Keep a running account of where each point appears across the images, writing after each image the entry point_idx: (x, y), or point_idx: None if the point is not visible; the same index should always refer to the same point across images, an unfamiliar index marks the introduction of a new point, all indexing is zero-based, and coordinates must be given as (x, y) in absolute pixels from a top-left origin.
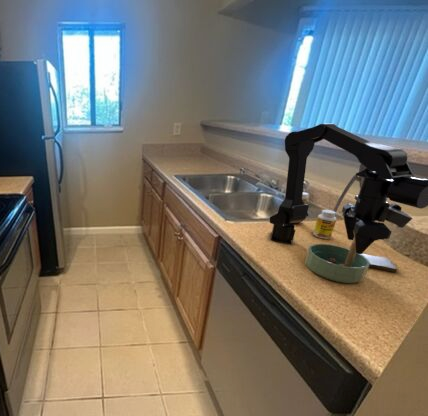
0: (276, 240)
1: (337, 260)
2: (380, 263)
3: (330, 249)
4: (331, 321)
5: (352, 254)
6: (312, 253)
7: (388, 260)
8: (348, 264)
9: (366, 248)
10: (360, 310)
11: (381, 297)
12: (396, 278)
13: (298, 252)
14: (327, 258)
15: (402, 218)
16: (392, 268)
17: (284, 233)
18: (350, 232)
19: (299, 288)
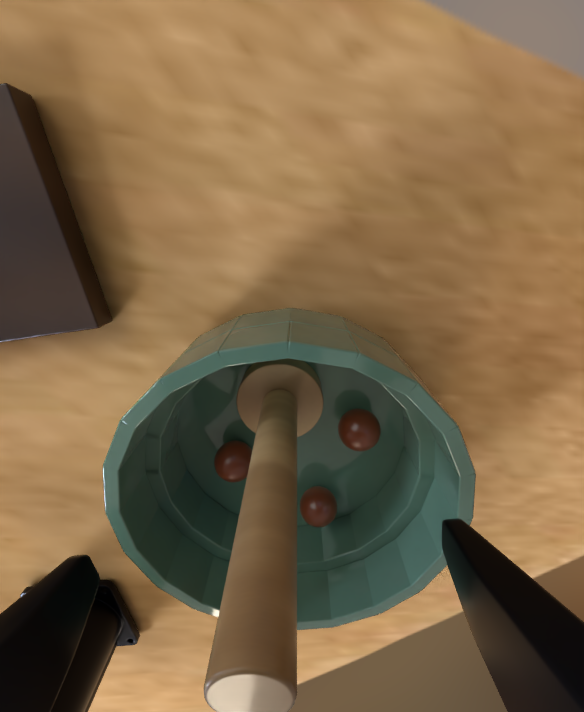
0: (132, 626)
1: (176, 426)
2: (2, 195)
3: (146, 509)
4: None
5: (296, 480)
6: (361, 616)
7: None
8: (296, 422)
9: (565, 607)
10: None
11: (474, 235)
12: (135, 106)
13: None
14: (184, 465)
15: None
16: (21, 118)
17: (91, 666)
18: (31, 702)
19: (551, 535)
